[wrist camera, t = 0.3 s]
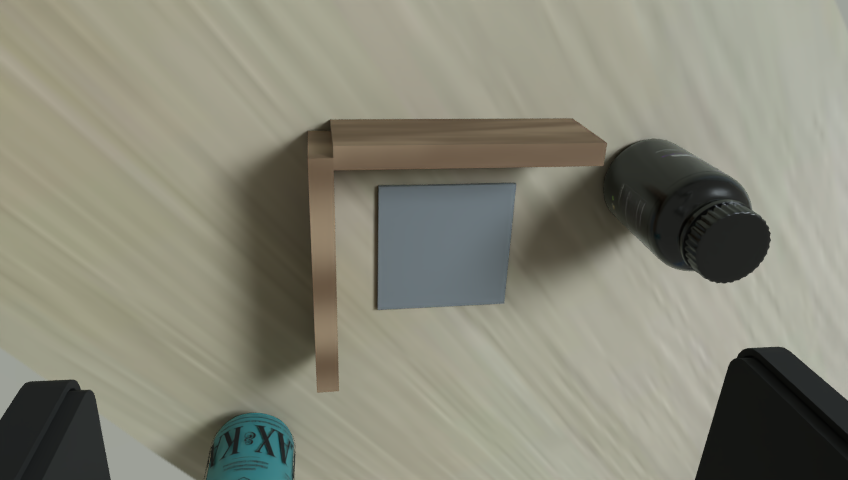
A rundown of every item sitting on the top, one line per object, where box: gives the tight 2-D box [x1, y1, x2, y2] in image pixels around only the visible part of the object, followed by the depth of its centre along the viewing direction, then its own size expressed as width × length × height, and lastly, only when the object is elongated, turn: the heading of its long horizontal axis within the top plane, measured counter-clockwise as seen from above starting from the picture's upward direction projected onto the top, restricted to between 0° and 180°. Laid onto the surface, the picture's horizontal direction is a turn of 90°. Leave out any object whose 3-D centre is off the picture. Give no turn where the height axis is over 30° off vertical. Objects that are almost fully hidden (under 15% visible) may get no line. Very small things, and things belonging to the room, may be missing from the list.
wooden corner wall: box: [308, 119, 607, 393], centre depth 46 cm, size 18×18×6 cm
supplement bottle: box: [604, 139, 771, 283], centre depth 44 cm, size 7×7×12 cm
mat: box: [378, 183, 516, 310], centre depth 49 cm, size 10×10×1 cm
